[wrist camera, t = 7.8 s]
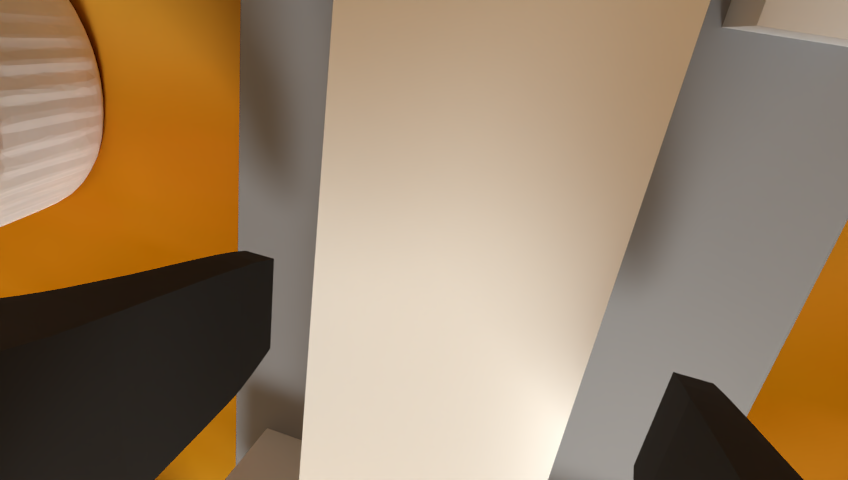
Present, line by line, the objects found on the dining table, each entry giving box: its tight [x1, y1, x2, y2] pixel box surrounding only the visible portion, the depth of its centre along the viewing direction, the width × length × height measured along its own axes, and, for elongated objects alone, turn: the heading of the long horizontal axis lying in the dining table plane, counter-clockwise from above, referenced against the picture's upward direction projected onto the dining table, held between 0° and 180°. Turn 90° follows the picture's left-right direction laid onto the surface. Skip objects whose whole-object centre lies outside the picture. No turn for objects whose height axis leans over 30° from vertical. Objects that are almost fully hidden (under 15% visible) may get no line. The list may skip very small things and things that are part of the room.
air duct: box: [299, 0, 711, 480], centre depth 10 cm, size 21×4×4 cm, turn 171°
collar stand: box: [225, 0, 848, 480], centre depth 11 cm, size 24×12×4 cm, turn 171°
